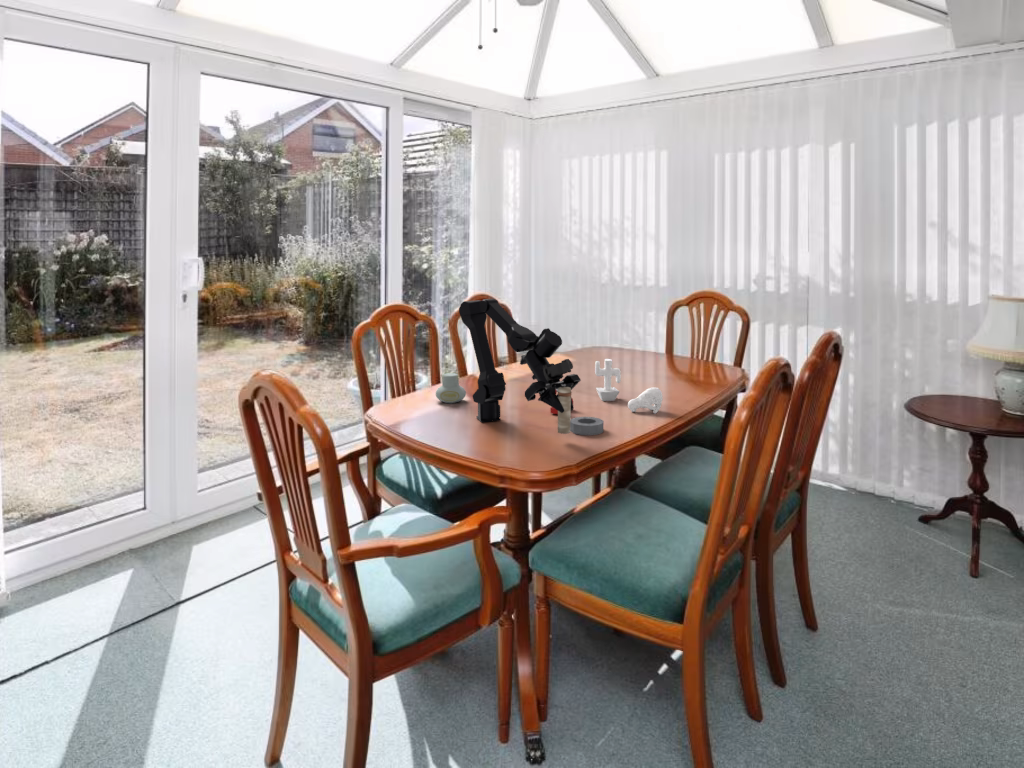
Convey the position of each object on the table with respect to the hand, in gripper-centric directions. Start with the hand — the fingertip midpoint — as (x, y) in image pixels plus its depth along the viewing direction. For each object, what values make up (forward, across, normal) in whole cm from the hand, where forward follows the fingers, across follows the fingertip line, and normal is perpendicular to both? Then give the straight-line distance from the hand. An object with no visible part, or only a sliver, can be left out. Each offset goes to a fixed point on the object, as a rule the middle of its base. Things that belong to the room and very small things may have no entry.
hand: (567, 410), depth 183 cm
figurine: (-11, +50, +24) cm, 56 cm away
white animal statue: (+3, +45, +10) cm, 46 cm away
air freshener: (-37, +6, +51) cm, 64 cm away
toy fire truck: (-10, +23, +24) cm, 34 cm away
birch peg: (+4, 0, +6) cm, 7 cm away
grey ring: (+4, +13, +10) cm, 17 cm away
